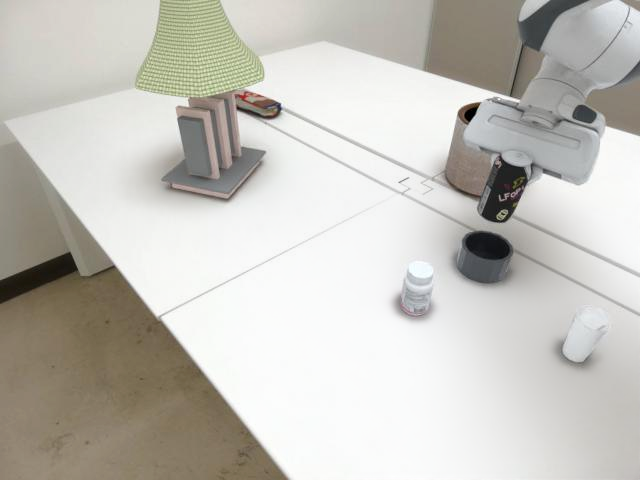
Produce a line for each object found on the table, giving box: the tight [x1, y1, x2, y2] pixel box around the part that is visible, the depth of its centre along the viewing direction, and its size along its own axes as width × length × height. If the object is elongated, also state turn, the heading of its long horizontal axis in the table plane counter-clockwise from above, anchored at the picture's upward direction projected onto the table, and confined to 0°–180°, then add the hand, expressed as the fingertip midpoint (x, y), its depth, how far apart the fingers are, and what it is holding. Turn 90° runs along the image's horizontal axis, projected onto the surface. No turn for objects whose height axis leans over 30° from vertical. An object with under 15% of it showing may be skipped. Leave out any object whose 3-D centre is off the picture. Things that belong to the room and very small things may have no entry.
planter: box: [444, 101, 492, 197], centre depth 103 cm, size 18×18×16 cm
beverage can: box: [476, 148, 533, 225], centre depth 73 cm, size 6×6×12 cm
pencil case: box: [234, 89, 283, 117], centre depth 137 cm, size 11×20×5 cm, turn 39°
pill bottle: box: [399, 260, 435, 316], centre depth 74 cm, size 5×5×8 cm
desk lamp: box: [134, 0, 267, 200], centre depth 97 cm, size 26×28×40 cm
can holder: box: [456, 229, 515, 284], centre depth 83 cm, size 9×9×5 cm
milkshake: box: [561, 304, 613, 363], centre depth 66 cm, size 4×5×10 cm
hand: (504, 187), depth 73 cm, fingers closed on beverage can, 3 cm apart
